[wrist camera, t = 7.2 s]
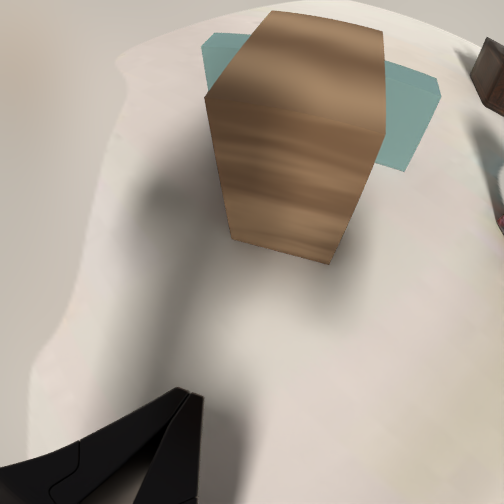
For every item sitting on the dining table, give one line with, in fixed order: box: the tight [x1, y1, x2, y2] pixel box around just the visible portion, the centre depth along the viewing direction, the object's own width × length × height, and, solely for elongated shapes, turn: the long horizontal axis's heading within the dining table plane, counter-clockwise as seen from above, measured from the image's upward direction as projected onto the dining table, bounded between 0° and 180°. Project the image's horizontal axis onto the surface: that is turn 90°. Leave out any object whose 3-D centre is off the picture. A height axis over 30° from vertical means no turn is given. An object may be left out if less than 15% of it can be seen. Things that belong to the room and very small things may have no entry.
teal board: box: [201, 33, 441, 172], centre depth 25 cm, size 3×20×10 cm, turn 73°
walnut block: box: [204, 11, 386, 265], centre depth 21 cm, size 12×8×14 cm, turn 163°
